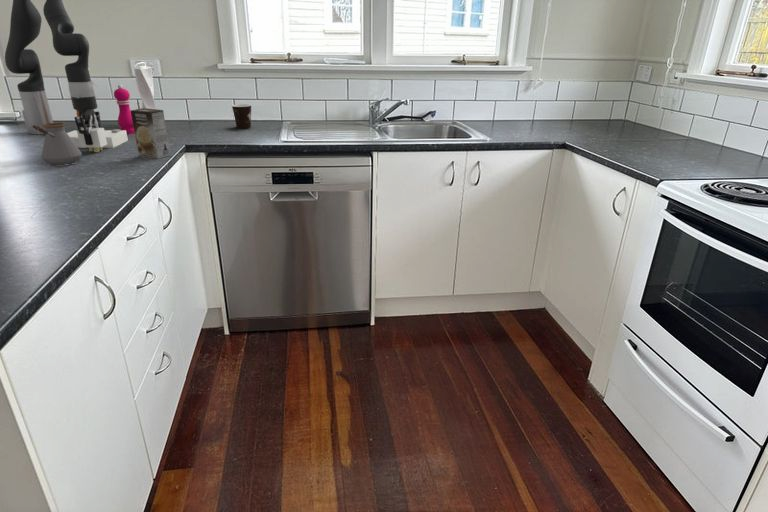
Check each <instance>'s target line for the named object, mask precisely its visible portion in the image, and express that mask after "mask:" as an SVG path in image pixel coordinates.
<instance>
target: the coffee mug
mask: <svg viewBox="0 0 768 512" xmlns="http://www.w3.org/2000/svg"><path fill="white" fill-rule="evenodd" d="M231 108H232V112H233V117H234V121H235V126H236V128H237V129H239V130H240V129H241V130H242V129H243V130H245V129H251V127H252V105H251V104H245V103H242V104H241V103H240V104H232V105H231Z"/></svg>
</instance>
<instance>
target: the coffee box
mask: <svg viewBox="0 0 768 512" xmlns="http://www.w3.org/2000/svg"><path fill="white" fill-rule="evenodd" d="M130 110H131V116H132V121H133V127H134V132H135V133H134V137H135V141H136V146H137V147H136V148H137V154H138V156H139V157H142V158H149V159H158V160H159V159H162V158H165V157H169V156H171V153H170V152H171V151H170V144H169V140H168V132H167V126H166V120H165V113H164V110H163V109H148V108H142V107H140V109H138V108H136V109H130Z"/></svg>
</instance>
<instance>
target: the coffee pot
mask: <svg viewBox="0 0 768 512" xmlns="http://www.w3.org/2000/svg"><path fill="white" fill-rule="evenodd" d="M66 125H67V124H66V123H65V122H53V123H49V124H43V125H42V126H43V127H44V128H45V130H44V129H43V128H40V127H39V126H35V125H33V126H32V127H33V128H35V129H36V130H37V131H38V130H39V131H40V132H42V133H45V134H44V135H45V137H44V143H43V148H42V153H41V156H40V157H41V159H42V160H43V161H44V162H45V163H47V164H51V165H50V166H52V165H65V164H72V163H75V162H77V163H78V161H79V160H80V159H81V158H82V152H81V150H80V149H79V148H77V146H76V145H75V143H74V142H73V141H72V139H71V138H70V137H69V135H68V134H67V133H68V132H67V131H66V130H65V129H66V128H65V126H66ZM30 128H31V127H30ZM30 131H31V130H30ZM37 131H36V132H37ZM31 132H32V131H31ZM75 164H76V163H75ZM72 165H73V164H72Z"/></svg>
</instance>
